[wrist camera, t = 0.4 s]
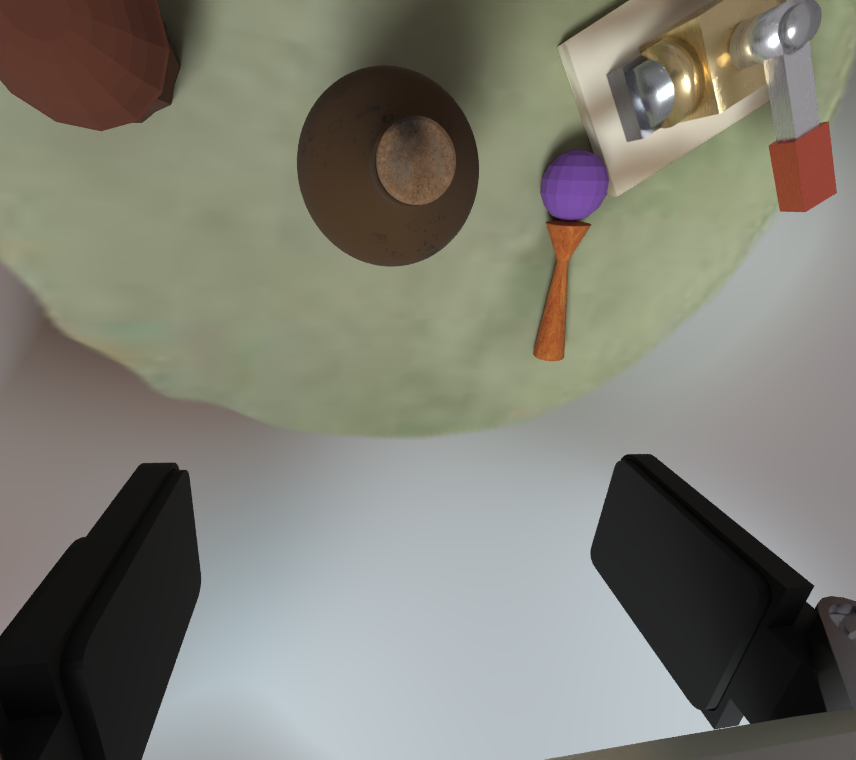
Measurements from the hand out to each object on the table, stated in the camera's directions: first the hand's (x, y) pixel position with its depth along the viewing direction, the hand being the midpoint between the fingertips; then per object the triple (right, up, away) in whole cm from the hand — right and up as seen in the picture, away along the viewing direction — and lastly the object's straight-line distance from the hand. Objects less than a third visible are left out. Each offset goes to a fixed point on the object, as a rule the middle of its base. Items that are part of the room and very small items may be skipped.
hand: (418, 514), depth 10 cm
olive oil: (-5, +21, +30) cm, 37 cm away
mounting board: (+23, +32, +32) cm, 50 cm away
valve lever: (+27, +24, +26) cm, 44 cm away
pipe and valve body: (+23, +31, +30) cm, 49 cm away
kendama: (+13, +16, +37) cm, 42 cm away
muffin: (-24, +28, +24) cm, 43 cm away
